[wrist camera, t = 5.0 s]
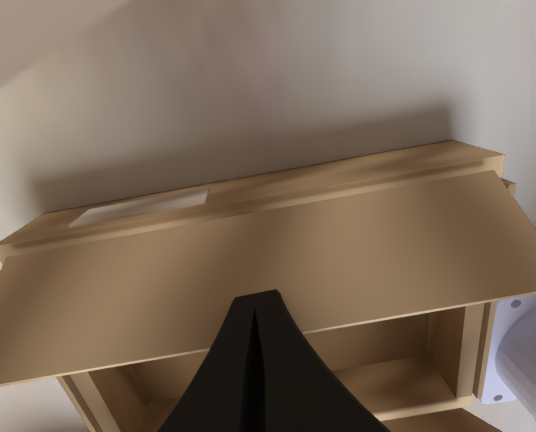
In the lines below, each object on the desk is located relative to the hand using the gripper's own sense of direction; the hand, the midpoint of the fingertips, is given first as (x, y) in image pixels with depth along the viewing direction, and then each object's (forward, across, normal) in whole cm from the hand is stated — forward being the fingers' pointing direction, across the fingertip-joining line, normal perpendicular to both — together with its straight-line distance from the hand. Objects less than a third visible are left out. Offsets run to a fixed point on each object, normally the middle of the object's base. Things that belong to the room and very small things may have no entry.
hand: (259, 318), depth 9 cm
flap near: (+2, 0, -2) cm, 3 cm away
